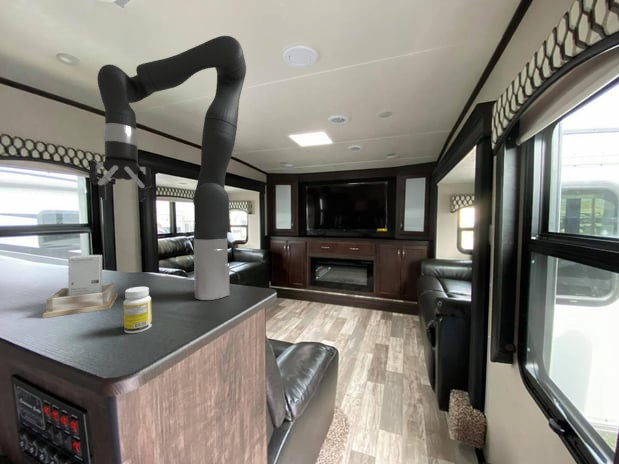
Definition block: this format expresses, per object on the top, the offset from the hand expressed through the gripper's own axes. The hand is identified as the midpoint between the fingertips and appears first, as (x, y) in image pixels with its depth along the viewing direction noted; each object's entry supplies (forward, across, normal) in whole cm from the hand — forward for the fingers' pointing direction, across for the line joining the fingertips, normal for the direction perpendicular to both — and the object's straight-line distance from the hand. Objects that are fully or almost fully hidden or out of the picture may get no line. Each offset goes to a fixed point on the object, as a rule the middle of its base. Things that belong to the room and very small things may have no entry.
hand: (123, 200), depth 71 cm
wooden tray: (+28, +8, +5) cm, 30 cm away
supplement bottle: (+28, -5, +28) cm, 40 cm away
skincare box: (+27, +8, +5) cm, 29 cm away
